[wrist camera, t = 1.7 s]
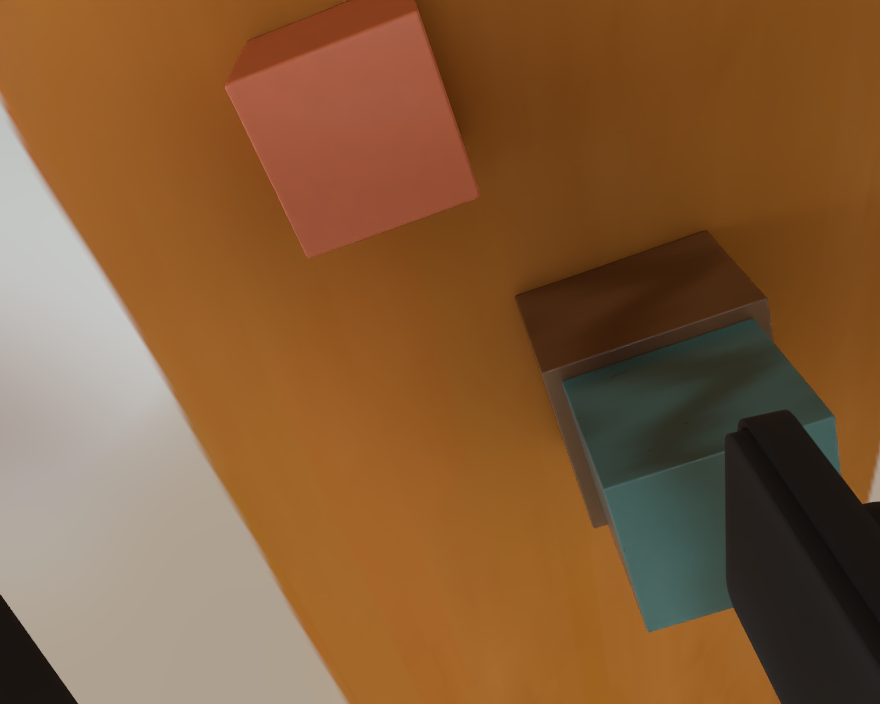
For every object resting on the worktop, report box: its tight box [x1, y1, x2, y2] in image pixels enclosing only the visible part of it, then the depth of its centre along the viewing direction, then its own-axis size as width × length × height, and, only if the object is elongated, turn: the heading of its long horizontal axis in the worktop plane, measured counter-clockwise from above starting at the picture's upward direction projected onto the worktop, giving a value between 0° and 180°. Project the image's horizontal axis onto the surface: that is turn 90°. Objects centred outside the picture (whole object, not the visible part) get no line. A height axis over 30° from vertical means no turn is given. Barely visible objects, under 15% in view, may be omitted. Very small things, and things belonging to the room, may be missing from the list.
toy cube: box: [225, 0, 480, 258], centre depth 23 cm, size 5×5×5 cm
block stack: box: [515, 231, 841, 632], centre depth 27 cm, size 7×7×10 cm
